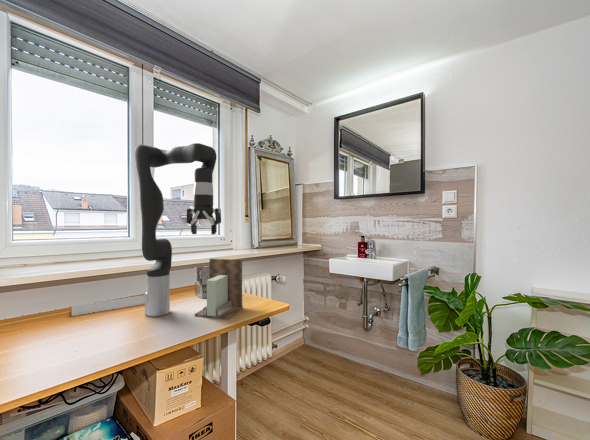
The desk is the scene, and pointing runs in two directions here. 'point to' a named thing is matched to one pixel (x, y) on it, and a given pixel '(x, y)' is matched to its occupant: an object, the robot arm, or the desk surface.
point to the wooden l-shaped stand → (234, 287)
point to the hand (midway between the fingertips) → (203, 234)
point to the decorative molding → (107, 305)
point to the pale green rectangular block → (216, 293)
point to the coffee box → (201, 280)
